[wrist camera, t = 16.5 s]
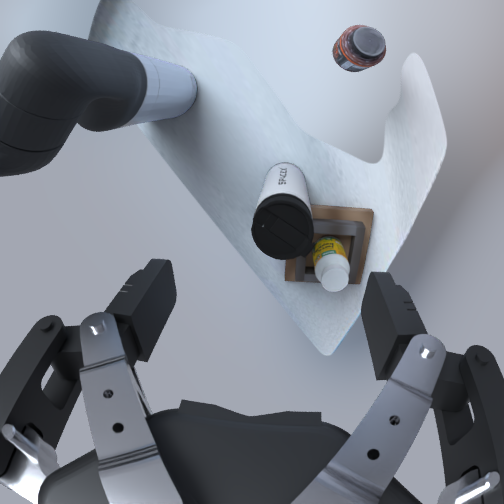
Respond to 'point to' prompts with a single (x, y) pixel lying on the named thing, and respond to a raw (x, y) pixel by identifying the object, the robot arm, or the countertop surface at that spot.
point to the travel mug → (284, 214)
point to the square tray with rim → (343, 228)
